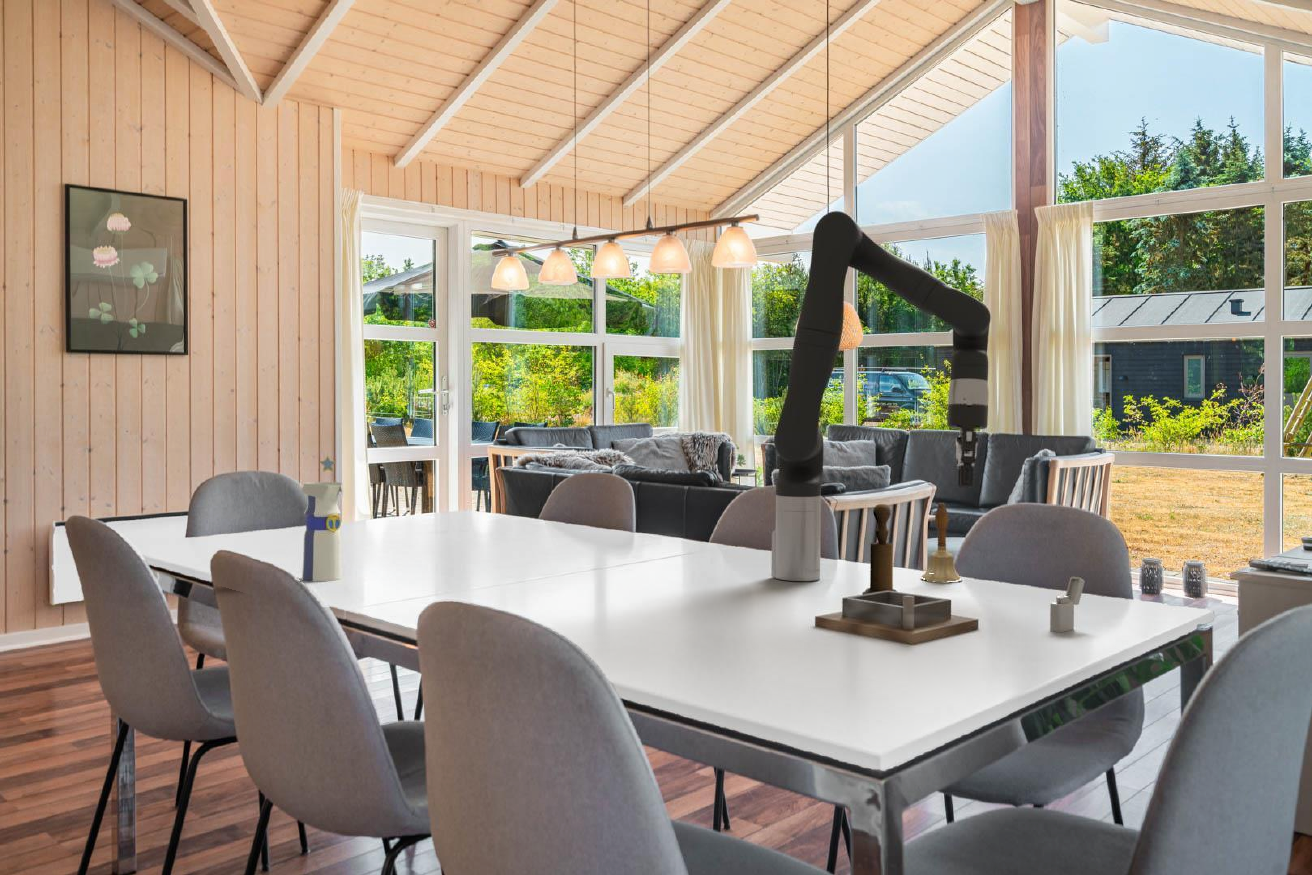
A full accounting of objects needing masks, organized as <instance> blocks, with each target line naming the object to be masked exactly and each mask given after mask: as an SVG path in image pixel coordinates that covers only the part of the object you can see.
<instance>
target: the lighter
mask: <svg viewBox="0 0 1312 875" xmlns="http://www.w3.org/2000/svg"><path fill="white" fill-rule="evenodd" d="M1085 582H1086V581H1085V580H1084V579H1083V578H1081V577H1078V576H1070V579H1069V581H1068V585H1067V588H1066V593H1065V595H1060V596H1056V599H1055V600H1056V601H1055V602H1050V605H1049V606H1050V610H1049V611H1050V612H1049V618H1050V619H1049V620H1050V621H1049V622H1050V623H1049V624H1050V626H1049V627H1050V628H1049V630H1050V632H1054V633H1056V632H1057V633H1063V632H1068V631H1073V630H1074V628H1075V622H1074V620H1075V605H1076V606H1078V605H1079V604H1080V600H1081V598H1082V594H1083V590H1084V585H1085Z"/></svg>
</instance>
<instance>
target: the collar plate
mask: <svg viewBox="0 0 1312 875" xmlns="http://www.w3.org/2000/svg"><path fill="white" fill-rule="evenodd" d="M841 601H842V602H841V604H842V605H841V606H842V608H841V609H842V610H841V611H838V612H833V613H827V614H822V615H815V616H814V626H815V627H819V628H824V629H830V630H836V631H841V632H845V633H850V634H856V635H860V636H861V635H862V636H866V637H872V638H876V639H881V640H887V641H893V642H896V643H897V642H899V643H904V644H909V645H914V644H919V643H924V642H928V641H933V640H936V639H941V638H944V637H948V636H954V635H958V634H963V633H966V632H971V631H975V630H978V629H979V619H978V618H974V617H973V618H972V617H966V616H961V615H953V614H952V599H950V598H949V599H948V598H941V597H935V596H927V595H921V594H915V593H908V592H903V591H902V592H900V591H897V592H895V591H889V590H887V591H881V592H875V593H869V594H863V595H862V594H858V595H853V596H847V597H845V596H844V597H842V600H841Z"/></svg>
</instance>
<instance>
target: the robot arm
mask: <svg viewBox="0 0 1312 875" xmlns="http://www.w3.org/2000/svg"><path fill="white" fill-rule="evenodd" d="M809 266H810V269H809V273H808V274H809V276H808V281H807V284H806V289H805V293H804V296H803V300H802V304H801V309H800V313H799V316H798V321H797V326H796V331H795V334H794V335H795V336H794V340H793V345H792V353H791V358H790V359H791V360H790V366H789V375H788V381H787V382H788V383H787V390H786V395H785V398H784V402H783V406H782V408H781V413H780V416H779V419H778V423H777V425H776V429H775V432H774V435H773V436H774V437H773V444H774V448H775V450H776V452H777V454H778V455H779V458H778V459H779V460H778V461H779V462H778V467H779V468H778V476H777V479H776V483H775V530H773V531H772V532H771V575H770V576H771V577H772V578H775V579H777V580H781V581H782V580H783V581H789V582H812V581H818V580H820V579H821V536H822V535H821V532H822V531H821V526H822V525H821V519H822V515H821V513H822V509H821V508H822V500H821V499H822V496H821V495H822V484H823V477H824V436H823V432H822V430H821V428H820V426H819V424H820V415H821V414H820V413H821V406H822V401H823V397H824V393H825V391H826V389H827V387H828V383H829V381H830V379H831V376H832V373H833V370H834V368H835V366H836V363H837V359H838V356H839V350H840V345H841V341H842V336H843V335H842V334H843V328H844V314H845V313H844V311H845V306H844V305H845V300H844V299H845V296H844V294H845V282H846V277H847V273H848V269H849V268H852V269H854V270H857V271H859V272H861V273H862V274H864V275H866V276H868V277H870V278H871V279H873V280H875V281H876V282H878V283H879V284H881V285H882V286H884V287H885V288H886V289H888V290H889V291H891V292H892V293H893V294H895V295H896V296H898V297H899V298H901V299H902V300H904V301H905V302H907V303H908V304H910V305H912V306H913V307H914V308H917V309H918V310H919V311H921V312H923V313H925V314H927V315H929V316H932V317H934V316H935V317H936V318H938V319H940V320H941V321H943V322H945V323H946V324H948V325H949V326H951V327H952V357H951V362H950V382H949V383H950V384H949V388H948V395H947V396H948V399H947V401H948V403H947V422H946V424H947V427H948V428H950V429H957V430H959V431H960V432H959V433H960V434H959V435H958V436H956V438H955V447H956V448H955V449H956V451H955V458H956V459H957V460H956V464H957V465H956V467H957V469H958V471H957V472H958V473H957V486H958V488H965V489H967V488H971V487H973V482H974V478H973V477H974V467H975V464H976V461H977V459H976V458H977V453H978V445H979V438H978V437H977V436H978V435H977V430H985V429H987V428H988V425H989V424H988V422H989V421H988V420H989V356H988V346H989V335H990V334H989V333H990V324H991V320H992V318H991V316H992V315H991V312H990V309H989V308H988V307H987V305H986V304H985V303H984V302H982V301H980V300H979V299H977V298H976V297H974V296H972V295H971V294H968V293H966V292H964V291H961V290H959V289H958V288H955V287H953V286H951V285H949V284H948V283H946V282H945V281H943V280H941V279H940V278H938V277H936V276H935V275H934V274H932V273H930V272H928V271H927V270H925V269H923V267H922V268H921V267H920V266H919V265H916V264H914V263H912V262H911V261H908V260H906V259H903V258H901V257H899V256H898V255H896V254H894V253H892V252H890V251H888V250H887V249H885V248H884V247H883V246H881V245H879V244H878V243H877V242H876V241H874V240H873V239H872V238H871V237H870V236H868V235H867V233H865V232H864V231H863V230H862V228H861V226H860V225H859V224H858V222H857V221H856V220H855V219H854V218H853V217H852V216H851V215H849V214H848V213H847V212H844V211H842V210H841V211H840V210H834V211H830V212H828V213H826V214H825V215H823V216H822V217H821V218H820V219H819V220H818V222H817V223H816V225H815V227H814V230H813V234H812V247H811V258H810V265H809ZM975 430H976V431H975Z"/></svg>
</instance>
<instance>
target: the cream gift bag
mask: <svg viewBox="0 0 1312 875" xmlns="http://www.w3.org/2000/svg"><path fill="white" fill-rule="evenodd" d="M336 462H337V461H335V460H331V459H330V457H329V455H327V456H326V458H325V459H324V460H320V461H319V464H321V465H323V469H322V472H323V473H324V472H327V471H331V472H333V473H334V468H333V465H335V464H336ZM301 493H302V494H304V495H306V498H307V506H306V509H305V511H304V512H303V513H304V515H305V516H306V517H305V518H306V519H305V520H306V522H305V525H306V526H305V528H306V529H305V531H304V534H303V551H302V554H303V557H302V558H303V560H302V571H301V572H302V575H301V576H302V577H301V580H302V581H305V582H329V581H330V582H331V581H337V580H341V579H342V578H343V575H342V574H343V572H342V552H341V551H342V547H341V546H342V544H341V543H342V539H341V538H342V536H341V531H340V528H341V525H342V520H341V519H342V518H340V516H339V515H340V514H341V511H340V509H339V506H338V497H339V493H341V496H340V500H342V499H343V497H344V484H343V482H338V481H315V482H314V481H312V482H304V483H303V486H302V488H301Z"/></svg>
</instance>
